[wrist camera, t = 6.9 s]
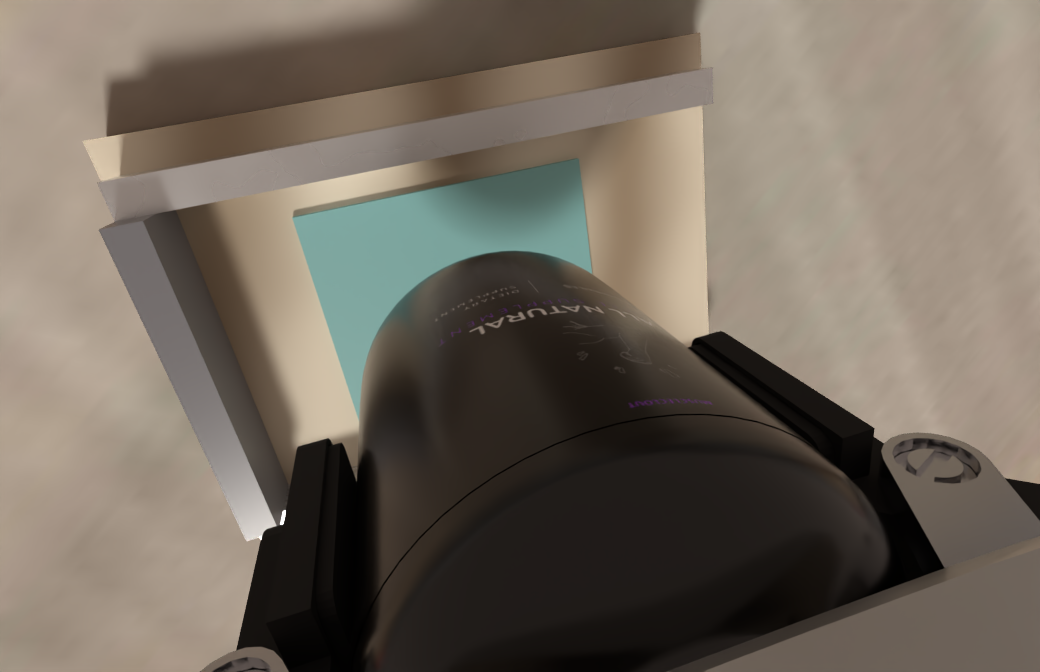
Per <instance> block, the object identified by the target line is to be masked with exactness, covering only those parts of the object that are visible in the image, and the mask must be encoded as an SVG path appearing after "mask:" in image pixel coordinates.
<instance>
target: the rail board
mask: <svg viewBox="0 0 1040 672" xmlns="http://www.w3.org/2000/svg"><path fill="white" fill-rule="evenodd" d="M712 103H713V68H701V44H700V33H695V34H689V35H684V36H678V37H672V38H666V39H661V40H655V41H649V42H644V43H638V44H632V45H627V46H621V47H615V48H610V49H604V50H598V51H592V52H587V53H581V54H575V55H570V56H564V57H558V58H553V59H547V60H541V61H536V62H530V63H524V64H519V65H513V66H507V67H501V68H496V69H490V70H484V71H479V72H473V73H467V74H462V75H456V76H450V77H445V78H439V79H433V80H427V81H422V82H416V83H410V84H405V85H399V86H393V87H388V88H382V89H376V90H371V91H365V92H359V93H353V94H348V95H342V96H336V97H331V98H325V99H319V100H314V101H308V102H302V103H297V104H291V105H285V106H280V107H274V108H268V109H262V110H257V111H251V112H245V113H240V114H234V115H228V116H223V117H217V118H211V119H206V120H200V121H194V122H188V123H183V124H177V125H171V126H166V127H160V128H154V129H149V130H143V131H137V132H132V133H126V134H120V135H115V136H109V137H103V138H97V139H92V140H86V141H83V143H84V145H85V147H86V149H87V151H88V154H89V156H90V158H91V160H92V162H93V165H94V167H95V169H96V171H97V173H98V176H99V178H100V180H101V182H97V184H98V186H99V188H100V191H101V193H102V195H103V197H104V199H105V201H106V204H107V206H108V208H109V210H110V212H111V215H112V217H113V219H114V221H115V222H114V223H112V224H110V225H107V226H105V227H103V228H101V229H99V231H100V234H101V236H102V238H103V240H104V242H105V244H106V246H107V248H108V250H109V253H110V255H111V257H112V259H113V261H114V263H115V265H116V267H117V269H118V271H119V274H120V276H121V278H122V280H123V282H124V284H125V286H126V288H127V290H128V293H129V295H130V297H131V299H132V301H133V303H134V305H135V307H136V309H137V312H138V314H139V316H140V318H141V320H142V322H143V324H144V326H145V328H146V331H147V333H148V335H149V337H150V339H151V341H152V343H153V345H154V347H155V350H156V352H157V354H158V356H159V358H160V360H161V362H162V364H163V366H164V369H165V371H166V373H167V375H168V377H169V379H170V381H171V383H172V385H173V388H174V390H175V392H176V394H177V396H178V398H179V400H180V402H181V404H182V407H183V409H184V411H185V413H186V415H187V417H188V419H189V421H190V423H191V426H192V428H193V430H194V432H195V434H196V436H197V438H198V440H199V442H200V445H201V447H202V449H203V451H204V453H205V455H206V457H207V459H208V461H209V464H210V466H211V468H212V470H213V472H214V474H215V476H216V478H217V480H218V483H219V485H220V487H221V489H222V491H223V493H224V495H225V497H226V499H227V502H228V504H229V506H230V508H231V510H232V512H233V514H234V516H235V518H236V521H237V523H238V525H239V527H240V529H241V531H242V533H243V535H244V537H245V540H246V541H249V540H253V539H256V538H259V537H260V539H261V538H262V535H263V532H264V531H265V530H266V529H268V528H271V527H275V526H278V525H282V524H283V523H284V517H285V512H286V506H287V501H288V495H289V489H290V484H291V478H292V473H293V467H294V461H295V456H296V450H297V447H298V446H301V445H305V444H309V443H312V442H316V441H320V440H323V439H327V438H329V439H330V440H331V442H332V444H333V445H334V444H338V443H343V445H344V447H345V450H346V453H347V455H348V458H349V461H350V464H351V467H352V470H353V473H354V475H355V478H356V481H357V463H358V438H359V412H360V398H361V385H362V378H363V371H364V367H365V363H366V359H367V355H368V353H369V350H370V347H371V344H372V342H373V340H374V338H375V336H376V334H377V332H378V330H379V328H380V326H381V325H382V323H383V322H384V320H385V318H386V317H387V315H388V314H389V313H390V312H391V310H392V309H393V308H394V307H395V305H396V304H397V303H398V302H399V301H400V300H401V299H402V298H403V297H404V296H405V295H406V294H407V293H408V292H409V291H410V290H412V289H413V288H414V287H415V286H416V285H417V284H419V283H420V282H422V281H423V280H424V279H426V278H427V277H429V276H430V275H432V274H434V273H435V272H437V271H439V270H441V269H442V268H444V267H446V266H449V265H451V264H453V263H455V262H458V261H461V260H464V259H466V258H469V257H473V256H477V255H481V254H485V253H492V252H499V251H530V252H537V253H543V254H547V255H551V256H555V257H558V258H561V259H563V260H566V261H568V262H571V263H573V264H575V265H577V266H579V267H581V268H583V269H585V270H586V271H588V272H590V273H591V274H593V275H594V276H596V277H597V278H598V279H600V280H601V281H603V282H604V283H605V284H607V285H608V286H609V287H611V288H612V289H614V290H615V291H616V292H618V293H619V294H620V295H621V296H623V297H624V298H625V299H626V300H628V301H629V302H630V303H632V304H633V305H634V306H635V307H637V308H638V309H639V310H641V311H642V312H643V313H644V314H646V315H647V316H648V317H649V318H651V319H652V320H653V321H655V322H656V323H657V324H658V325H660V326H661V327H662V328H664V329H665V330H666V331H667V332H669V333H670V334H671V335H672V336H674V337H675V338H676V339H678V340H679V341H680V342H681V343H683V344H684V345H685V346H686V347H690V346H691V345H692V341H693V340H694V339H695V338H697V337H701V336H705V335H708V334H709V330H708V294H707V258H706V223H705V187H704V151H703V115H702V105H707V104H712Z"/></svg>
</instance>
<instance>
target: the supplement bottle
mask: <svg viewBox="0 0 1040 672" xmlns="http://www.w3.org/2000/svg"><path fill="white" fill-rule="evenodd" d="M905 582H908V579H907V575H906V571H905V568H904V565H903V562H902V559H901V557H900V554H899V552H898V550H897V547H896V545H895V543H894V540H893V538H892V536H891V533H890V531H889V529H888V528H887V526H886V524H885V522H884V520H883V519H882V517H881V516H880V514H879V512H878V511H877V509H876V507H875V506H874V505H873V503H872V502H871V501H870V499H869V498H868V497H867V496H866V495H865V494H864V492H863V491H862V490H861V489H860V488H859V487H858V485H857V484H856V483H855V482H853V481H852V480H851V479H850V478H849V477H848V476H847V475H846V474H845V473H844V472H843V471H841V470H840V469H839V468H838V467H837V466H836V465H834V464H833V463H832V462H831V461H830V460H829V459H828V458H827V457H826V456H824V455H823V454H822V453H821V452H820V451H819V450H817V449H816V448H815V447H814V446H813V445H811V444H810V443H809V442H808V441H806V440H805V439H804V438H803V437H801V436H800V435H799V434H797V433H796V432H795V431H794V430H792V429H791V428H790V427H789V426H787V425H786V424H785V423H783V422H782V421H781V420H780V419H778V418H777V417H776V416H775V415H773V414H772V413H771V412H769V411H768V410H767V409H766V408H764V407H763V406H762V405H761V404H759V403H758V402H757V401H755V400H754V399H753V398H752V397H750V396H749V395H748V394H747V393H745V392H744V391H743V390H741V389H740V388H739V387H738V386H736V385H735V384H734V383H732V382H731V381H730V380H729V379H727V378H726V377H725V376H724V375H722V374H721V373H720V372H718V371H717V370H716V369H715V368H713V367H712V366H711V365H709V364H708V363H707V362H706V361H704V360H703V359H702V358H701V357H699V356H698V355H697V354H695V353H694V352H693V351H692V350H690V349H689V348H688V347H686V346H685V345H684V344H683V343H681V342H680V341H679V340H678V339H676V338H675V337H674V336H672V335H671V334H670V333H669V332H667V331H666V330H665V329H664V328H662V327H661V326H660V325H658V324H657V323H656V322H655V321H653V320H652V319H651V318H649V317H648V316H647V315H646V314H644V313H643V312H642V311H641V310H639V309H638V308H637V307H635V306H634V305H633V304H632V303H630V302H629V301H628V300H626V299H625V298H624V297H623V296H621V295H620V294H619V293H618V292H616V291H615V290H614V289H612V288H611V287H609V286H608V285H607V284H605V283H604V282H603V281H601V280H600V279H598V278H597V277H596V276H594V275H593V274H591V273H590V272H588V271H586V270H585V269H583V268H581V267H579V266H577V265H575V264H573V263H571V262H568V261H566V260H563V259H561V258H558V257H555V256H551V255H547V254H543V253H537V252H530V251H499V252H492V253H485V254H481V255H477V256H473V257H469V258H466V259H464V260H461V261H458V262H455V263H453V264H451V265H449V266H446V267H444V268H442V269H441V270H439V271H437V272H435V273H434V274H432V275H430V276H429V277H427V278H426V279H424V280H423V281H422V282H420V283H419V284H417V285H416V286H415V287H414V288H413V289H412V290H410V291H409V292H408V293H407V294H406V295H405V296H404V297H403V298H402V299H401V300H400V301H399V302H398V303H397V304H396V305H395V307H394V308H393V309H392V310H391V312H390V313H389V314H388V315H387V317H386V318H385V320H384V322H383V323H382V325H381V326H380V328H379V330H378V332H377V334H376V336H375V338H374V340H373V342H372V344H371V347H370V350H369V353H368V355H367V359H366V363H365V367H364V371H363V378H362V385H361V398H360V412H359V438H358V463H357V489H356V515H355V541H354V567H353V593H352V620H351V647H350V672H667V671H669V670H672V669H675V668H677V667H680V666H683V665H685V664H688V663H690V662H693V661H696V660H698V659H701V658H704V657H706V656H709V655H712V654H714V653H717V652H720V651H722V650H725V649H728V648H730V647H733V646H736V645H738V644H741V643H744V642H746V641H749V640H752V639H754V638H757V637H760V636H762V635H765V634H768V633H770V632H773V631H776V630H778V629H781V628H784V627H786V626H789V625H792V624H794V623H797V622H800V621H802V620H805V619H808V618H811V617H813V616H816V615H819V614H821V613H824V612H827V611H830V610H832V609H835V608H838V607H840V606H843V605H846V604H849V603H851V602H854V601H857V600H859V599H862V598H865V597H868V596H870V595H873V594H876V593H878V592H881V591H884V590H887V589H889V588H892V587H895V586H897V585H900V584H903V583H905Z"/></svg>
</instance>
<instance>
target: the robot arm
mask: <svg viewBox="0 0 1040 672" xmlns="http://www.w3.org/2000/svg"><path fill="white" fill-rule="evenodd" d="M688 348H689V349H690V350H692V351H693V352H694V353H695V354H697V355H698V356H699V357H701V358H702V359H703V360H704V361H706V362H707V363H708V364H709V365H711V366H712V367H713V368H715V369H716V370H717V371H718V372H720V373H721V374H722V375H724V376H725V377H726V378H727V379H729V380H730V381H731V382H732V383H734V384H735V385H736V386H738V387H739V388H740V389H741V390H743V391H744V392H745V393H747V394H748V395H749V396H750V397H752V398H753V399H754V400H755V401H757V402H758V403H759V404H761V405H762V406H763V407H764V408H766V409H767V410H768V411H769V412H771V413H772V414H773V415H775V416H776V417H777V418H778V419H780V420H781V421H782V422H783V423H785V424H786V425H787V426H789V427H790V428H791V429H792V430H794V431H795V432H796V433H797V434H799V435H800V436H801V437H803V438H804V439H805V440H806V441H808V442H809V443H810V444H811V445H813V446H814V447H815V448H816V449H817V450H819V451H820V452H821V453H822V454H823V455H824V456H826V457H827V458H828V459H829V460H830V461H831V462H832V463H833V464H834V465H836V466H837V467H838V468H839V469H840V470H841V471H843V472H844V473H845V474H846V475H847V476H848V477H849V478H850V479H851V480H852V481H853V482H855V483H856V484H857V485H858V487H859V488H860V489H861V490H862V491H863V492H864V494H865V495H866V496H867V497H868V498H869V499H870V501H871V502H872V503H873V505H874V506H875V507H876V509H877V511H878V512H879V514H880V516H881V517H882V519H883V520H884V522H885V524H886V526H887V528H888V529H889V531H890V533H891V536H892V538H893V540H894V543H895V545H896V547H897V550H898V552H899V554H900V557H901V559H902V562H903V565H904V568H905V571H906V575H907V579H908V582H905V583H903V584H900V585H897V586H895V587H892V588H889V589H887V590H884V591H881V592H878V593H876V594H873V595H870V596H868V597H865V598H862V599H859V600H857V601H854V602H851V603H849V604H846V605H843V606H840V607H838V608H835V609H832V610H830V611H827V612H824V613H821V614H819V615H816V616H813V617H811V618H808V619H805V620H802V621H800V622H797V623H794V624H792V625H789V626H786V627H784V628H781V629H778V630H776V631H773V632H770V633H768V634H765V635H762V636H760V637H757V638H754V639H752V640H749V641H746V642H744V643H741V644H738V645H736V646H733V647H730V648H728V649H725V650H722V651H720V652H717V653H714V654H712V655H709V656H706V657H704V658H701V659H698V660H696V661H693V662H690V663H688V664H685V665H683V666H680V667H677V668H675V669H672V670H669V671H667V672H1040V484H1036V483H1030V482H1024V481H1018V480H1012V479H1006V478H1004V477H1003V475H1002V474H1001V473H1000V472H999V471H998V469H997V468H996V467H995V466H994V465H993V463H992V462H991V461H990V460H989V459H988V458H987V457H986V456H985V455H984V454H983V453H982V452H980V451H979V450H978V449H976V448H974V447H972V446H970V445H969V444H967V443H965V442H962V441H959V440H956V439H954V438H951V437H947V436H942V435H937V434H931V433H907V434H901V435H898V436H895V437H892V438H890V439H889V440H888V441H887V442H885V443H882V442H881V441H879V440H878V439H876V438H875V437H873V436H874V428H873V427H872V426H870V425H868V424H867V423H865V422H864V421H862V420H861V419H859V418H857V417H856V416H854V415H853V414H851V413H850V412H848V411H846V410H845V409H843V408H842V407H840V406H839V405H837V404H836V403H834V402H832V401H831V400H829V399H828V398H826V397H825V396H823V395H821V394H820V393H818V392H817V391H815V390H814V389H812V388H810V387H809V386H807V385H806V384H804V383H803V382H801V381H800V380H798V379H796V378H795V377H793V376H792V375H790V374H789V373H787V372H785V371H784V370H782V369H781V368H779V367H778V366H776V365H774V364H773V363H771V362H770V361H768V360H767V359H765V358H764V357H762V356H760V355H759V354H757V353H756V352H754V351H753V350H751V349H749V348H748V347H746V346H745V345H743V344H742V343H740V342H738V341H737V340H735V339H734V338H732V337H731V336H729V335H728V334H726V333H724V332H722V331H720V332H716V333H712V334H708V335H705V336H701V337H697V338H695V339H694V340H693V341H692V345H691V346H690V347H688ZM356 489H357V481H356V478H355V475H354V473H353V470H352V467H351V464H350V461H349V458H348V455H347V453H346V450H345V447H344V445H343V443H338V444H334V445H333V444H332V442H331V440H330V439H329V438H327V439H323V440H320V441H316V442H312V443H309V444H305V445H301V446H298V447H297V450H296V456H295V461H294V467H293V473H292V478H291V484H290V489H289V495H288V501H287V506H286V512H285V517H284V523H283V524H282V525H278V526H275V527H271V528H268V529H266V530H265V531H264V532H263V535H262V538H261V542H260V546H259V551H258V555H257V560H256V564H255V569H254V573H253V578H252V582H251V587H250V591H249V596H248V600H247V605H246V609H245V614H244V618H243V623H242V627H241V632H240V636H239V641H238V645H237V650H236V651H233V652H230V653H228V654H226V655H224V656H222V657H221V658H219V659H217V660H215V661H213V662H212V663H210V664H209V665H208V666H206V667H205V668H204V669H203V670H201V671H200V672H350V647H351V620H352V593H353V567H354V541H355V515H356Z"/></svg>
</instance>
